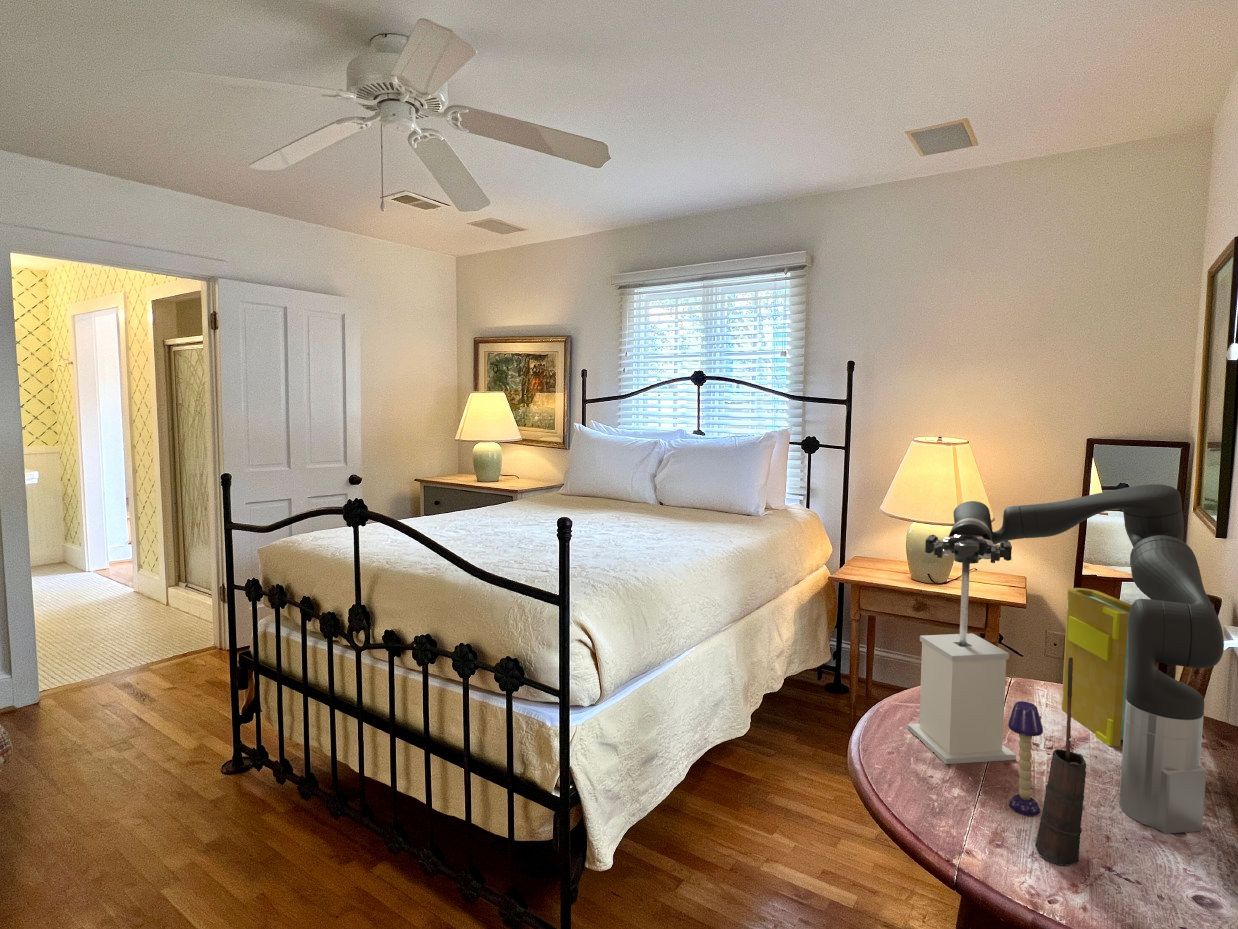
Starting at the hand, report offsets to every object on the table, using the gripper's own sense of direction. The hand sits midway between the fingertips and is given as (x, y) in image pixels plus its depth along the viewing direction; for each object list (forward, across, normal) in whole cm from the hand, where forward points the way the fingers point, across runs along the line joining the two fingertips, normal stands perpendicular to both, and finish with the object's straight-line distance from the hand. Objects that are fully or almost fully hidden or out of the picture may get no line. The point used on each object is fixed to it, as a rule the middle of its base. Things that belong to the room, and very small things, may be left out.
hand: (965, 554), depth 122 cm
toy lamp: (+16, +10, +36) cm, 41 cm away
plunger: (-2, 0, +24) cm, 24 cm away
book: (-23, +23, +36) cm, 49 cm away
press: (-2, 0, +36) cm, 36 cm away
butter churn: (+27, +14, +36) cm, 47 cm away
